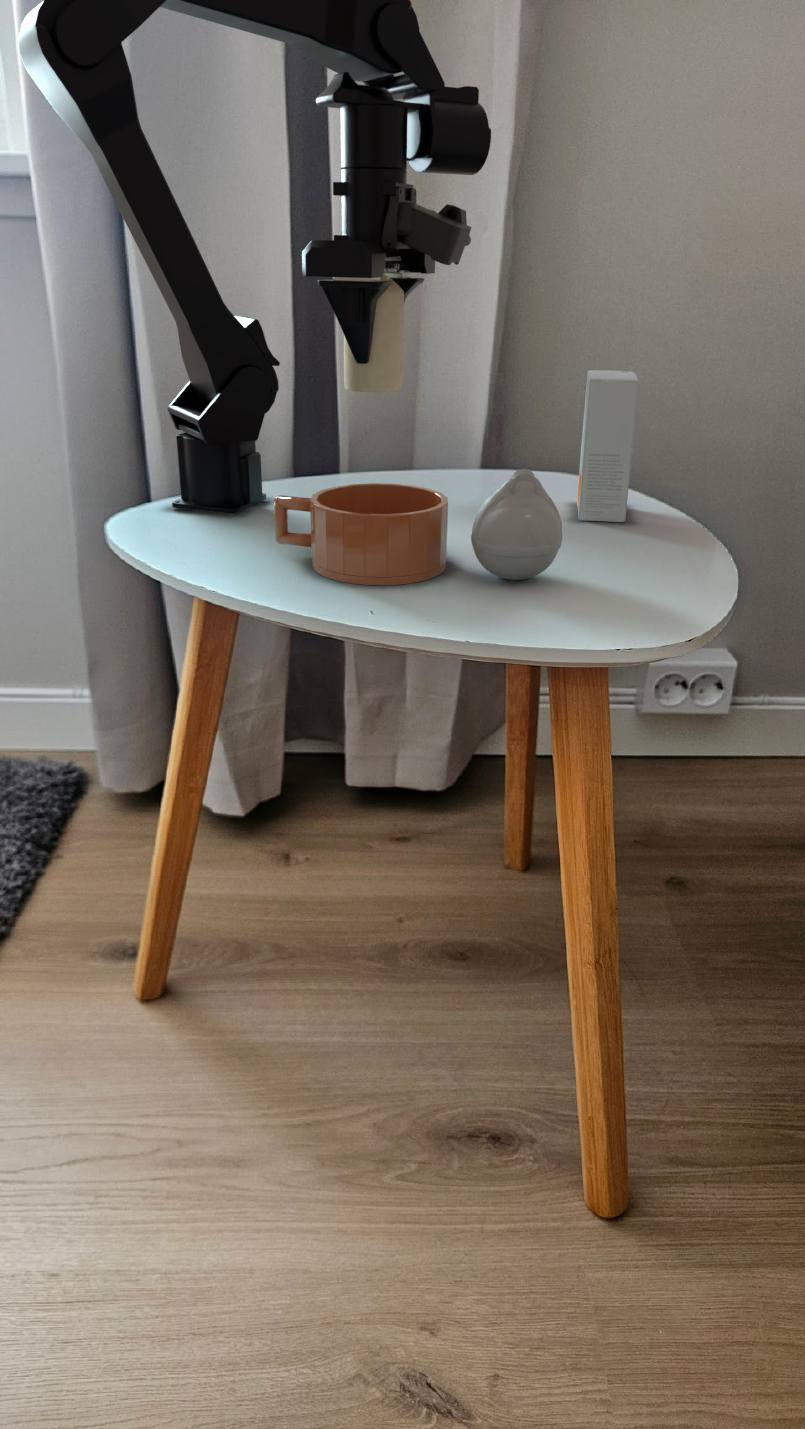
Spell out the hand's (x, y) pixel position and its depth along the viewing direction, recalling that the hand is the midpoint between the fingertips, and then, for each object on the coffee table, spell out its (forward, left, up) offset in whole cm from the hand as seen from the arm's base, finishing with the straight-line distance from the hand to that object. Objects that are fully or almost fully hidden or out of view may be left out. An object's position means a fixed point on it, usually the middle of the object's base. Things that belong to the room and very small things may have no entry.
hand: (373, 360), depth 93 cm
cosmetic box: (+23, -2, -12) cm, 26 cm away
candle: (0, 0, -3) cm, 3 cm away
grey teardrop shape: (+20, -23, -12) cm, 33 cm away
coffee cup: (+8, -24, -12) cm, 28 cm away
